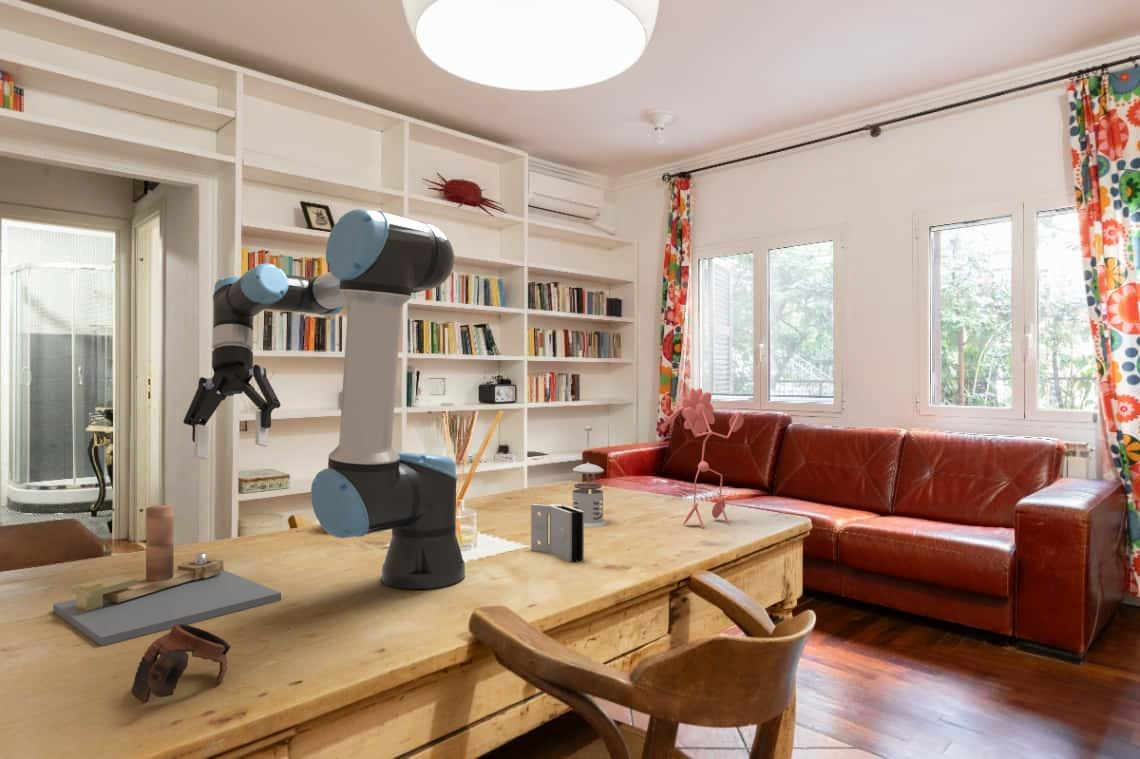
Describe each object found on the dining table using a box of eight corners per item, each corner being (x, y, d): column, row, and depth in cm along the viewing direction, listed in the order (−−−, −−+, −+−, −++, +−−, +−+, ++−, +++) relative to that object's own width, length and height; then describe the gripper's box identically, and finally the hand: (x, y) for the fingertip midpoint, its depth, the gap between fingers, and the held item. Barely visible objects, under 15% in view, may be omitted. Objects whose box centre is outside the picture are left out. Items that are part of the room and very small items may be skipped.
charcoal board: (281, 599, 116) (281, 592, 116) (101, 646, 96) (101, 637, 96) (221, 575, 130) (221, 569, 130) (53, 611, 109) (53, 603, 109)
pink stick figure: (752, 520, 182) (750, 387, 182) (682, 533, 167) (680, 388, 167) (709, 512, 194) (707, 387, 195) (639, 523, 179) (638, 388, 180)
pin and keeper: (215, 576, 125) (215, 554, 125) (91, 613, 105) (91, 587, 105) (195, 573, 127) (195, 551, 127) (70, 608, 107) (71, 582, 107)
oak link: (203, 568, 129) (203, 496, 129) (226, 571, 126) (226, 498, 126) (97, 598, 111) (98, 515, 111) (122, 603, 108) (122, 518, 108)
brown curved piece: (137, 681, 86) (175, 616, 89) (210, 710, 87) (245, 645, 90) (102, 698, 75) (147, 623, 78) (186, 731, 76) (227, 656, 79)
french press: (565, 526, 174) (566, 426, 174) (573, 517, 185) (573, 423, 185) (604, 528, 172) (605, 427, 172) (609, 518, 184) (610, 424, 184)
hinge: (529, 550, 150) (530, 504, 150) (548, 546, 153) (548, 501, 153) (573, 563, 140) (574, 513, 140) (592, 558, 143) (592, 510, 143)
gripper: (298, 343, 143) (299, 443, 136) (194, 368, 147) (190, 466, 141) (274, 331, 136) (275, 435, 129) (166, 357, 140) (161, 459, 134)
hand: (231, 451), depth 135 cm, fingers open, 13 cm apart
